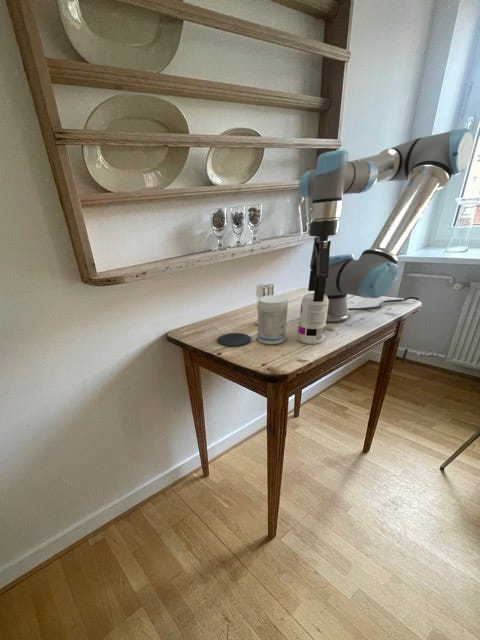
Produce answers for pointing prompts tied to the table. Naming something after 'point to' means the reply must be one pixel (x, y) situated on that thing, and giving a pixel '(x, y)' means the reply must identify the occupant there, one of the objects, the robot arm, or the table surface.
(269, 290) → the beer glass
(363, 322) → the table surface
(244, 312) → the table surface
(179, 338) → the table surface
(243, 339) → the coaster
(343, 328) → the table surface
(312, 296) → the supplement can
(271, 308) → the supplement tub
